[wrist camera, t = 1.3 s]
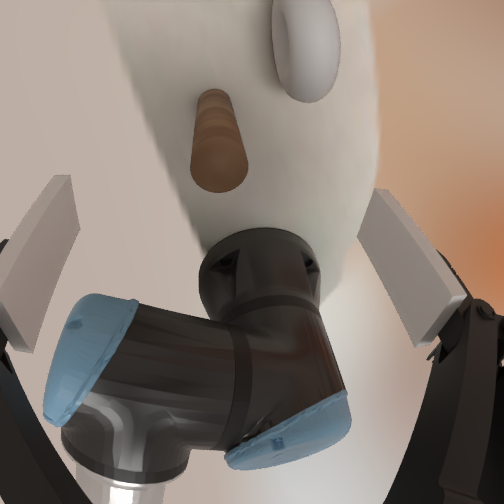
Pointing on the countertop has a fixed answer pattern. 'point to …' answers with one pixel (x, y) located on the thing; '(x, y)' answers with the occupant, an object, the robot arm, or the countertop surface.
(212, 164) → the thick dowel
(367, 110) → the countertop surface
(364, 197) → the countertop surface
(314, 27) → the grey rounded flat slab
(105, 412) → the robot arm
